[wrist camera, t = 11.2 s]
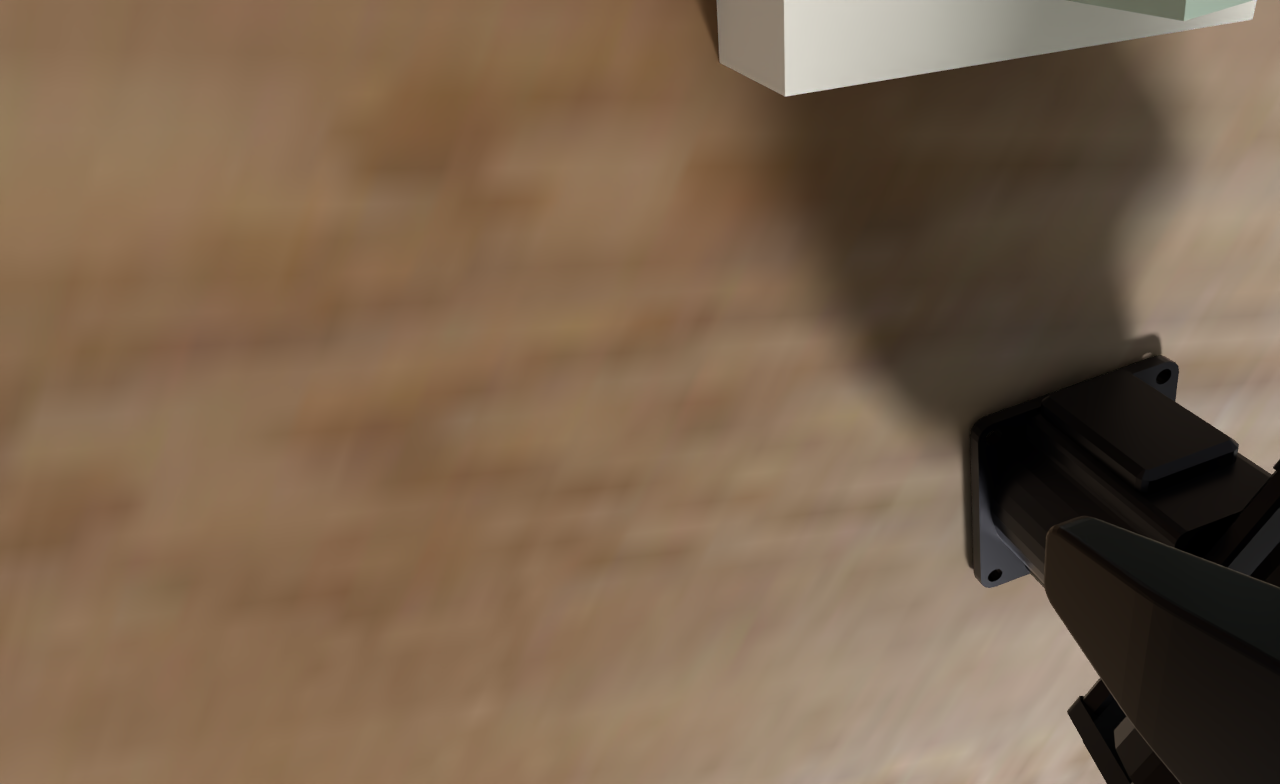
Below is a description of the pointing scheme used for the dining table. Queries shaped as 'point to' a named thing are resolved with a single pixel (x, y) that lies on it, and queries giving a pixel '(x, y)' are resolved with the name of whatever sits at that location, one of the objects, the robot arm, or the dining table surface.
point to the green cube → (1167, 7)
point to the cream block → (917, 36)
